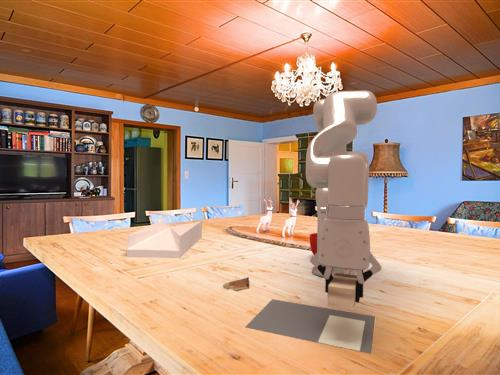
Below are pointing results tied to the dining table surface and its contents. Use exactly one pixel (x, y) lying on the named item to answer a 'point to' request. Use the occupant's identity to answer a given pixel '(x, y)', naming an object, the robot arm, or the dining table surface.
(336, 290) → the tan tapered block
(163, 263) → the dining table surface
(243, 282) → the shard
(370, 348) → the mat
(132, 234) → the hipped roof block
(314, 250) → the ceramic cup
